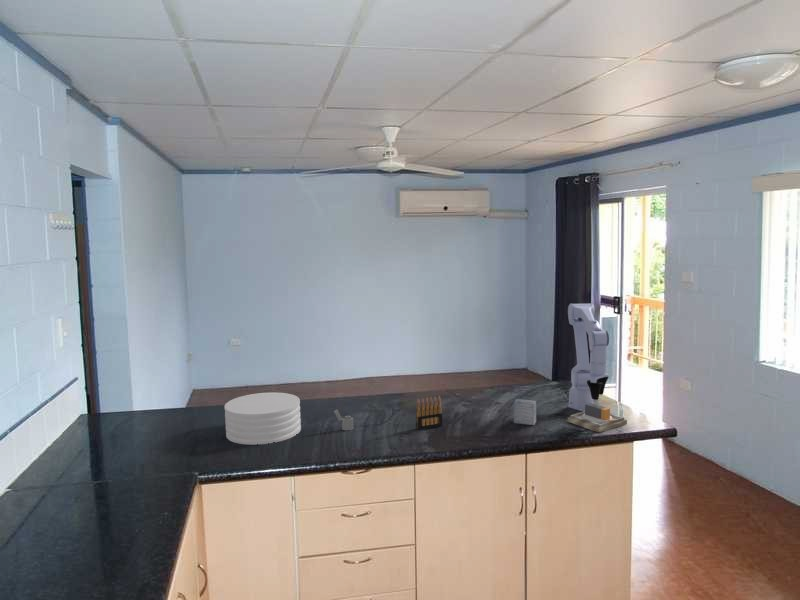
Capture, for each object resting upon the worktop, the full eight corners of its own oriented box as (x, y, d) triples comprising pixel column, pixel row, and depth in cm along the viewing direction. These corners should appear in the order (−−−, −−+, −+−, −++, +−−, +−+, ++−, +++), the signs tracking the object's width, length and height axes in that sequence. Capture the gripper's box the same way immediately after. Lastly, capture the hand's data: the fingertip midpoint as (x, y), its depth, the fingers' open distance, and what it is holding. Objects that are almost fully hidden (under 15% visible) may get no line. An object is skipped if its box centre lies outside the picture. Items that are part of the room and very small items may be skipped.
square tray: (567, 421, 227) (567, 414, 227) (594, 413, 236) (594, 407, 235) (599, 432, 215) (599, 425, 214) (626, 423, 223) (627, 417, 223)
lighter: (353, 428, 225) (352, 408, 224) (353, 429, 223) (352, 409, 222) (334, 429, 224) (333, 409, 223) (334, 431, 222) (334, 410, 221)
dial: (600, 425, 217) (600, 412, 217) (576, 418, 226) (576, 405, 226) (618, 419, 224) (618, 407, 223) (594, 412, 233) (594, 400, 232)
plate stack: (222, 426, 231) (220, 398, 230) (291, 415, 242) (290, 389, 241) (231, 450, 206) (229, 418, 204) (309, 437, 217) (307, 407, 215)
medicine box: (536, 422, 227) (536, 400, 226) (533, 425, 223) (534, 403, 222) (516, 419, 231) (516, 398, 230) (513, 423, 227) (513, 401, 226)
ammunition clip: (440, 424, 227) (440, 394, 226) (442, 425, 225) (442, 395, 224) (415, 428, 223) (415, 398, 222) (417, 430, 221) (417, 399, 220)
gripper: (604, 367, 214) (603, 403, 216) (613, 359, 226) (612, 393, 228) (585, 365, 218) (584, 400, 219) (594, 357, 230) (594, 391, 232)
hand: (597, 396), depth 224 cm, fingers open, 7 cm apart
